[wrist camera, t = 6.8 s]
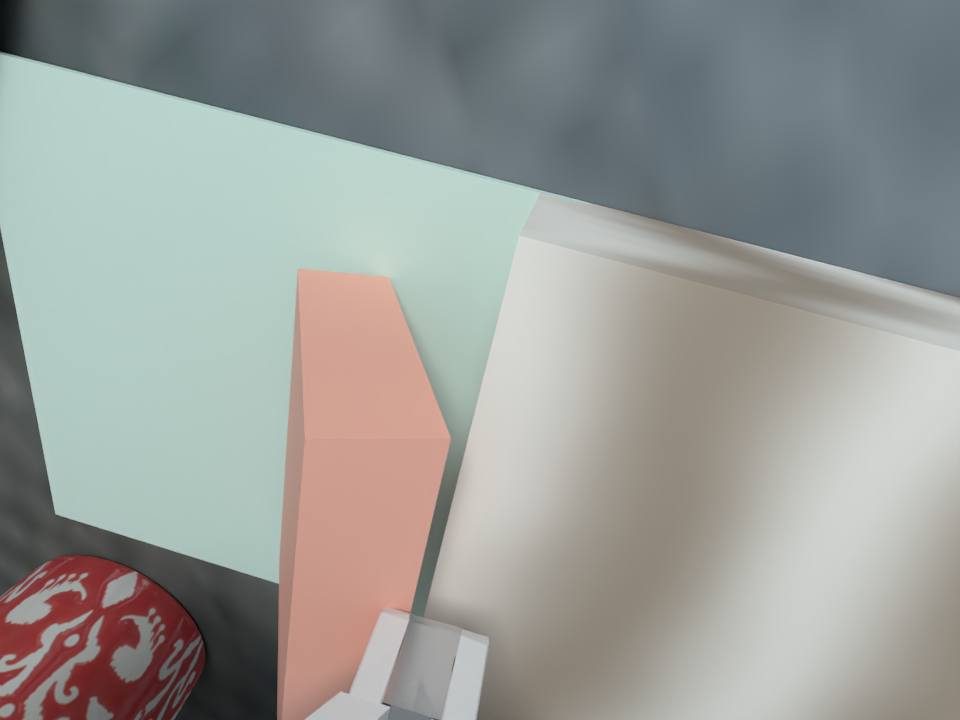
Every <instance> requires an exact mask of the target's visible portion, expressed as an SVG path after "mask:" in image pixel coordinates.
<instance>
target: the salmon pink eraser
mask: <svg viewBox="0 0 960 720" xmlns="http://www.w3.org/2000/svg"><path fill="white" fill-rule="evenodd" d="M450 441H451V437H450V434H449V432H448V429H447V426H446V424H445V421H444V419H443V416H442V413H441V411H440V408H439V406H438V403H437V400H436V398H435V395H434V393H433V390H432V387H431V385H430V382H429V380H428V377H427V374H426V372H425V369H424V367H423V364H422V361H421V359H420V356H419V354H418V351H417V348H416V346H415V343H414V341H413V338H412V335H411V333H410V330H409V328H408V325H407V322H406V320H405V317H404V315H403V312H402V309H401V307H400V304H399V302H398V299H397V296H396V294H395V291H394V289H393V286H392V283H391V281H390V278H388V277H383V276H373V275H362V274H351V273H341V272H330V271H319V270H309V269H298V275H297V290H296V306H295V322H294V337H293V353H292V368H291V384H290V400H289V415H288V431H287V447H286V462H285V478H284V494H283V509H282V525H281V541H280V556H279V621H278V688H277V720H304V719H306V718H307V717H308V716H310V715H311V714H312V713H313V712H315V711H316V710H317V709H318V708H320V707H321V706H322V705H323V704H325V703H326V702H327V701H328V700H330V699H331V698H332V697H334V696H335V695H336V694H337V693H339V692H340V691H342V692H346V693H349V691H350V689H351V686H352V684H353V681H354V679H355V676H356V674H357V671H358V668H359V666H360V663H361V661H362V658H363V656H364V653H365V651H366V648H367V645H368V643H369V640H370V638H371V635H372V633H373V630H374V628H375V625H376V622H377V620H378V617H379V615H380V613H381V611H382V609H383V608H384V607H391V608H395V609H398V610H402V611H405V612H408V613H410V612H411V608H412V604H413V600H414V595H415V591H416V587H417V582H418V578H419V574H420V570H421V565H422V561H423V557H424V552H425V548H426V544H427V540H428V535H429V531H430V527H431V522H432V518H433V514H434V510H435V505H436V501H437V497H438V492H439V488H440V484H441V480H442V475H443V471H444V467H445V462H446V458H447V454H448V450H449V445H450Z"/></svg>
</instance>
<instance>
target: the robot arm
mask: <svg viewBox="0 0 960 720" xmlns="http://www.w3.org/2000/svg"><path fill="white" fill-rule="evenodd" d="M488 649H489V637H488V636H485V635H481V634H478V633H474V632H471V631H467V630H463V629H462V630H461V628H460V627H457V626H453V625H449V624H446V623H442V622H439V621H435V620H432V619H428V618H425V617H421V616H418V615H414V614H411V613H408V612H405V611H402V610H398V609H395V608H391V607H384V608H383V609H382V611H381V613H380V615H379V617H378V620H377V622H376V625H375V628H374V630H373V633H372V635H371V638H370V640H369V643H368V645H367V648H366V651H365V653H364V656H363V658H362V661H361V663H360V666H359V668H358V671H357V674H356V676H355V679H354V681H353V684H352V686H351V689H350V691H349V693H346V692H342V691H340V692H339V693H337V694H336V695H335V696H334V697H332V698H331V699H330V700H328V701H327V702H326V703H325V704H323V705H322V706H321V707H320V708H318V709H317V710H316V711H315V712H313V713H312V714H311V715H310V716H308V717H307V718H306V719H304V720H476V719H477V713H478V707H479V701H480V695H481V689H482V684H483V678H484V672H485V666H486V660H487V654H488Z"/></svg>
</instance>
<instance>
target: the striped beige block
mask: <svg viewBox="0 0 960 720" xmlns="http://www.w3.org/2000/svg"><path fill="white" fill-rule="evenodd" d="M423 617H425V618H428V619H432V620H435V621H439V622H442V623H446V624H449V625H453V626H457V627H460V628H461V630H462V629H463V630H467V631H471V632H474V633H478V634H481V635H485V636H488V637H489V649H488V654H487V660H486V666H485V672H484V678H483V684H482V689H481V695H480V701H479V707H478V713H477V719H476V720H960V298H958V297H954V296H950V295H946V294H942V293H939V292H935V291H931V290H927V289H923V288H919V287H915V286H911V285H907V284H904V283H900V282H896V281H892V280H888V279H884V278H880V277H876V276H872V275H868V274H865V273H861V272H857V271H853V270H849V269H845V268H841V267H837V266H833V265H830V264H826V263H822V262H818V261H814V260H810V259H806V258H802V257H798V256H794V255H791V254H787V253H783V252H779V251H775V250H771V249H767V248H763V247H759V246H756V245H752V244H748V243H744V242H740V241H736V240H732V239H728V238H724V237H720V236H717V235H713V234H709V233H705V232H701V231H697V230H693V229H689V228H685V227H682V226H678V225H674V224H670V223H666V222H662V221H658V220H654V219H650V218H647V217H643V216H639V215H635V214H631V213H627V212H623V211H619V210H615V209H611V208H608V207H604V206H600V205H596V204H592V203H588V205H585V204H581V203H577V202H574V201H570V200H566V199H562V198H558V197H554V196H550V195H546V194H542V193H540V194H539V196H538V198H537V200H536V202H535V204H534V206H533V208H532V210H531V212H530V214H529V216H528V218H527V220H526V222H525V224H524V227H523V229H522V231H521V233H520V235H519V238H518V242H517V246H516V250H515V254H514V258H513V262H512V266H511V270H510V274H509V278H508V282H507V286H506V290H505V294H504V298H503V301H502V305H501V309H500V313H499V317H498V321H497V325H496V329H495V333H494V337H493V341H492V345H491V349H490V353H489V357H488V361H487V365H486V369H485V373H484V377H483V381H482V385H481V389H480V393H479V397H478V401H477V405H476V409H475V413H474V417H473V421H472V425H471V429H470V433H469V437H468V441H467V445H466V449H465V453H464V457H463V461H462V465H461V469H460V473H459V477H458V481H457V485H456V489H455V493H454V497H453V501H452V505H451V509H450V513H449V517H448V521H447V525H446V529H445V533H444V537H443V541H442V545H441V549H440V553H439V557H438V561H437V565H436V569H435V573H434V577H433V581H432V585H431V589H430V593H429V597H428V601H427V604H426V608H425V612H424V616H423Z"/></svg>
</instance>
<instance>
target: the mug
mask: <svg viewBox="0 0 960 720" xmlns="http://www.w3.org/2000/svg"><path fill="white" fill-rule="evenodd" d="M204 664H205V648H204V643H203V640H202V637H201V634H200V632H199V630H198V628H197V626H196V625H195V623H194V621H193V620H192V619H191V617H190V616H189V614H188V613H187V612H186V610H185V609H184V608H183V607H182V606H181V605H180V604H179V603H178V602H177V601H176V600H175V599H174V598H173V597H172V596H171V595H170V594H169V593H168V592H167V591H165V590H164V589H162V588H161V587H160V586H158V585H157V584H156V583H154V582H153V581H151V580H150V579H149V578H147V577H145V576H144V575H142V574H140V573H138V572H136V571H134V570H132V569H130V568H128V567H126V566H124V565H121V564H119V563H116V562H113V561H110V560H107V559H103V558H98V557H92V556H83V555H69V556H61V557H59V558H56V559H53V560H50V561H48V562H46V563H45V564H43V565H41V566H40V567H38V568H37V569H36V570H34V571H33V572H31V573H30V574H29V575H27V576H26V577H25V578H23V579H22V580H21V581H20V582H18V583H17V584H16V585H14V586H13V587H12V588H11V589H9V590H8V591H7V592H6V593H4V594H3V595H2V596H1V597H0V720H175V718H176V716H177V714H178V712H179V711H180V709H181V707H182V706H183V704H184V703H185V701H186V699H187V698H188V696H189V694H190V693H191V691H192V689H193V688H194V686H195V684H196V682H197V680H198V679H199V677H200V675H201V673H202V671H203V668H204Z"/></svg>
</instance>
